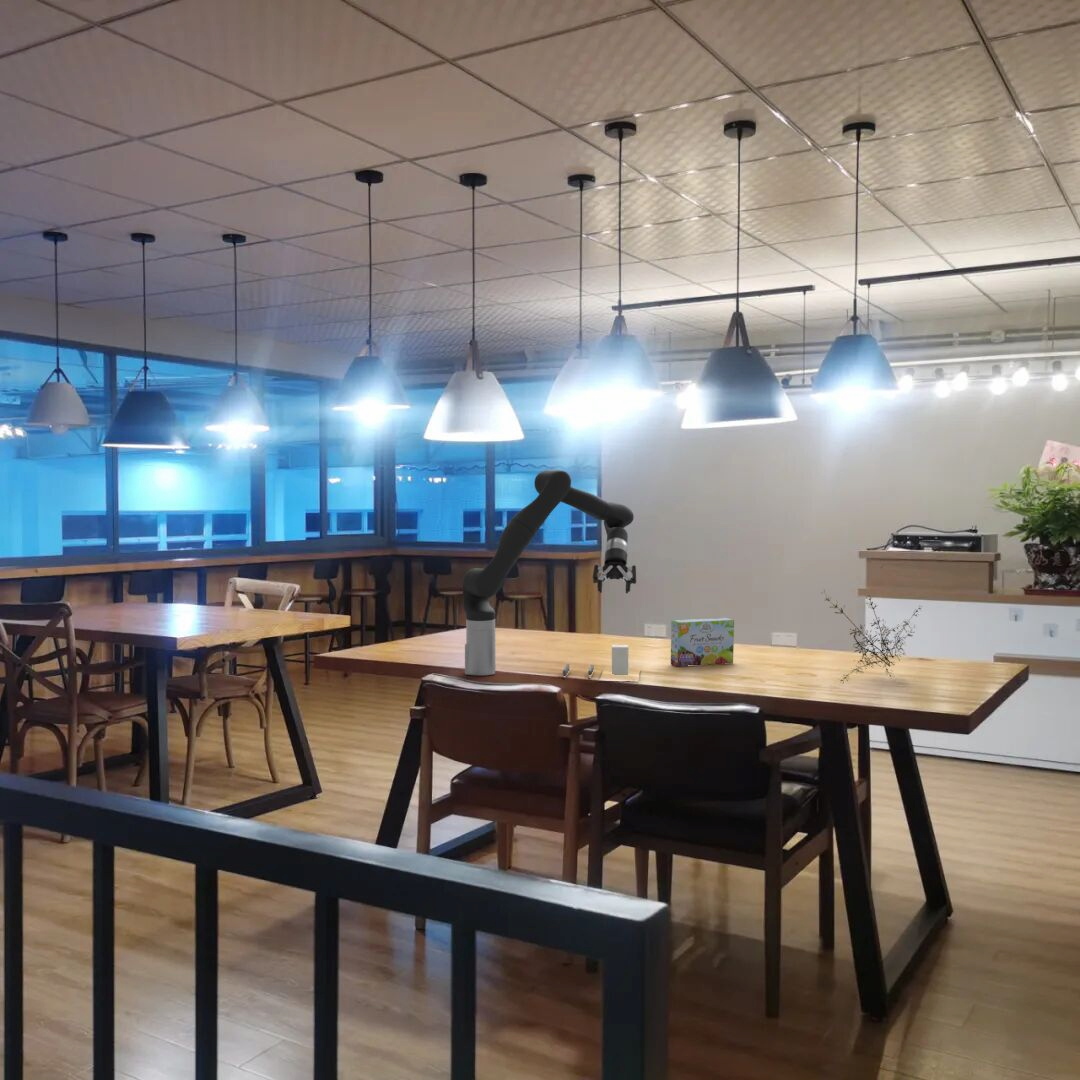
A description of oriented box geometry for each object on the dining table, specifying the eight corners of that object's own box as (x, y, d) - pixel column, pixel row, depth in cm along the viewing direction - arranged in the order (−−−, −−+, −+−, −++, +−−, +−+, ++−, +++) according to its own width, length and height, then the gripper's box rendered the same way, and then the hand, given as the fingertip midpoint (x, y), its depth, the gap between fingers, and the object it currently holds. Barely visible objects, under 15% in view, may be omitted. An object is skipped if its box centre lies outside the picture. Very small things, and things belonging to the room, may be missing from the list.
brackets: (563, 678, 325) (563, 670, 325) (566, 671, 337) (566, 664, 337) (590, 679, 324) (590, 670, 324) (593, 672, 336) (593, 664, 336)
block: (611, 676, 327) (611, 647, 327) (612, 673, 332) (612, 644, 331) (627, 676, 326) (628, 647, 326) (628, 673, 331) (628, 645, 331)
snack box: (678, 667, 345) (678, 621, 344) (670, 665, 350) (670, 619, 350) (734, 663, 353) (734, 618, 352) (725, 661, 358) (725, 616, 358)
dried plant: (857, 614, 341) (817, 564, 305) (957, 629, 323) (928, 578, 288) (836, 705, 333) (792, 664, 297) (937, 725, 315) (904, 685, 280)
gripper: (594, 546, 353) (591, 583, 342) (637, 547, 351) (635, 584, 341) (595, 561, 359) (592, 598, 348) (637, 562, 357) (635, 599, 346)
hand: (613, 591), depth 344 cm, fingers open, 8 cm apart
